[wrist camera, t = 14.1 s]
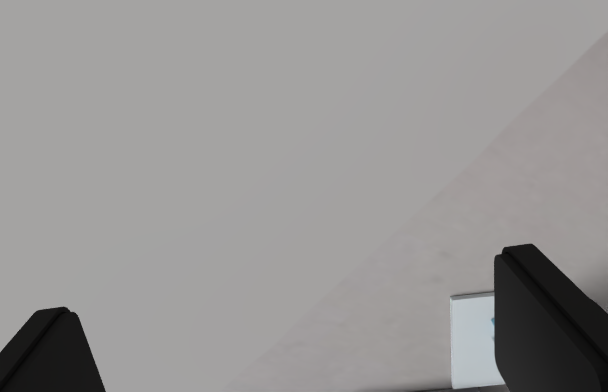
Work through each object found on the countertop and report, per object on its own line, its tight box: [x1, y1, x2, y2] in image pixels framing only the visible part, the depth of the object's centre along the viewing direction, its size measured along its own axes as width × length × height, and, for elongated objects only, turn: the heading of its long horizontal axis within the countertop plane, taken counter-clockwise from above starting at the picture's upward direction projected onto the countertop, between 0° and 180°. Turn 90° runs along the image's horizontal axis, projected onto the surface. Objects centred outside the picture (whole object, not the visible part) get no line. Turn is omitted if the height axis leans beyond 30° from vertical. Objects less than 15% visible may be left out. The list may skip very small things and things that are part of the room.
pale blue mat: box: [450, 292, 506, 389], centre depth 45 cm, size 10×10×1 cm
